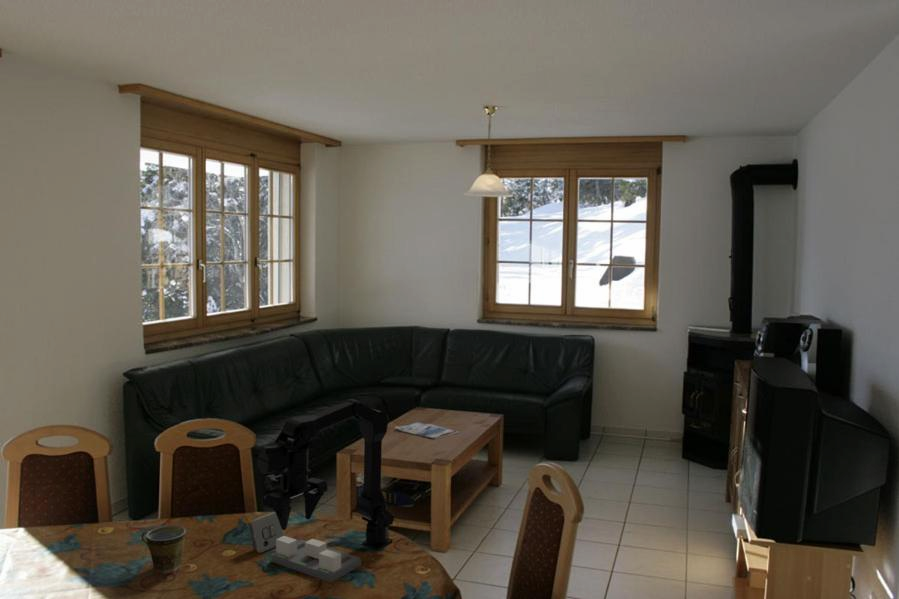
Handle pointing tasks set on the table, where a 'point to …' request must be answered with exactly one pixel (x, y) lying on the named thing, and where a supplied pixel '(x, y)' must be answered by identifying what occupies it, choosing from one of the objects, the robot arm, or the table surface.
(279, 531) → the electrical switch
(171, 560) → the ceramic cup
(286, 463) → the robot arm
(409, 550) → the table surface
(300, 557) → the breaker panel
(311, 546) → the handle
